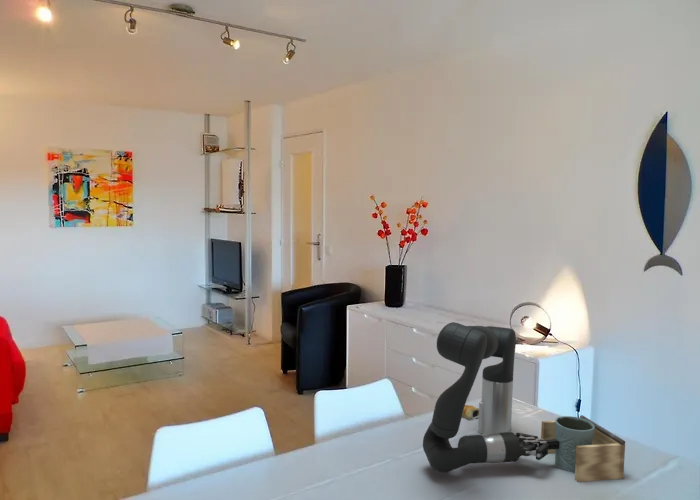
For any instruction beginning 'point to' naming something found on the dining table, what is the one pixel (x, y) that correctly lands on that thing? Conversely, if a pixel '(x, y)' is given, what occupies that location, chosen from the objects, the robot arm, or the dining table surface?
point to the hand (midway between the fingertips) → (557, 443)
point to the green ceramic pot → (571, 439)
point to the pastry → (470, 412)
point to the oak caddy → (594, 454)
